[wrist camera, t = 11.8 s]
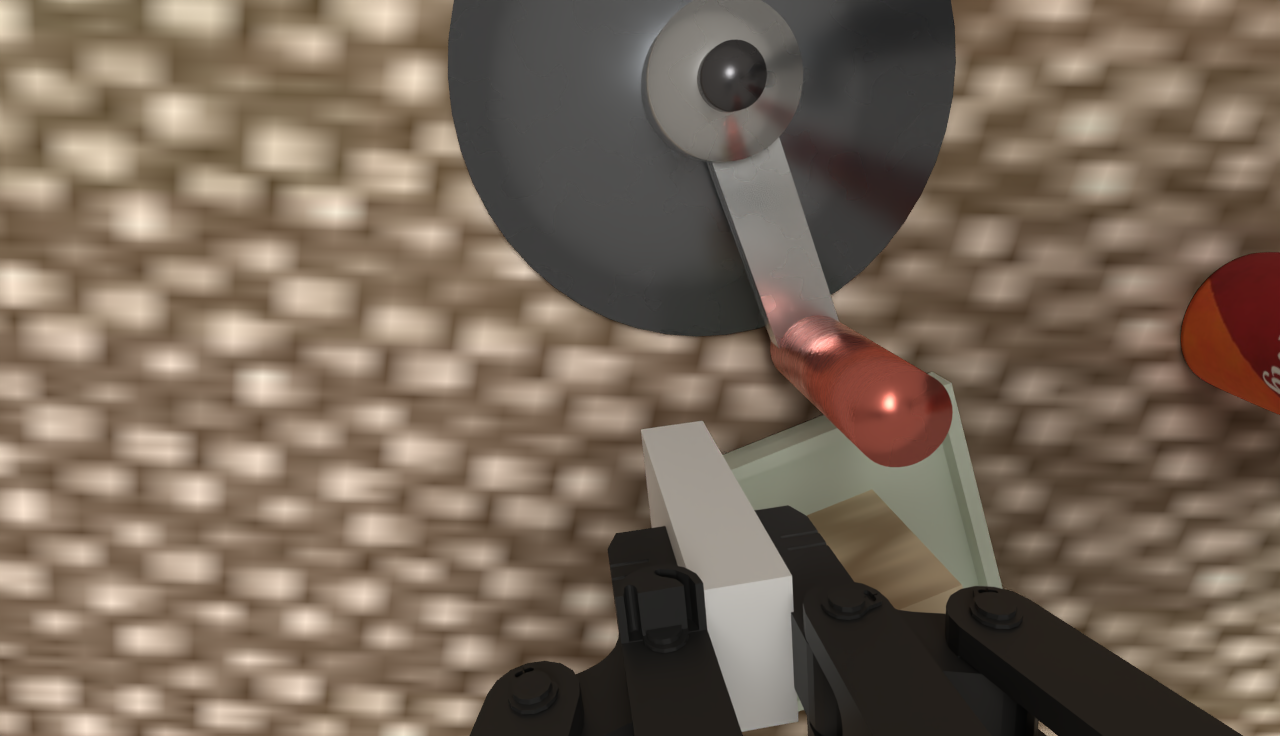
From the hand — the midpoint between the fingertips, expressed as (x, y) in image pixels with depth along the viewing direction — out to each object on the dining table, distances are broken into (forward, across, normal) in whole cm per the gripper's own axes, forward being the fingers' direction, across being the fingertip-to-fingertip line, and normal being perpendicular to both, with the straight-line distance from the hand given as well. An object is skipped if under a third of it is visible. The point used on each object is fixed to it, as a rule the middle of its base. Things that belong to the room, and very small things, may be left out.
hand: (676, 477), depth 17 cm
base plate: (+11, +4, +10) cm, 15 cm away
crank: (+10, +5, +5) cm, 13 cm away
